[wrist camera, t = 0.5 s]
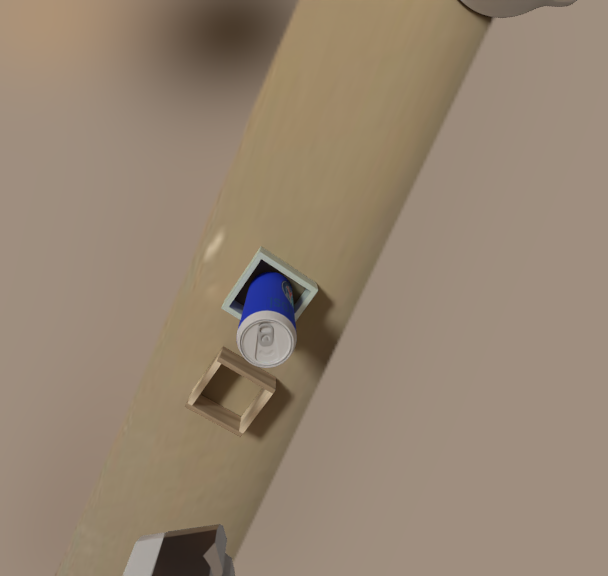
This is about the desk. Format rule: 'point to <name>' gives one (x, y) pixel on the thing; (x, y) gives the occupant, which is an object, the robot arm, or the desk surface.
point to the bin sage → (283, 267)
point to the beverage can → (267, 321)
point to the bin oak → (222, 414)
